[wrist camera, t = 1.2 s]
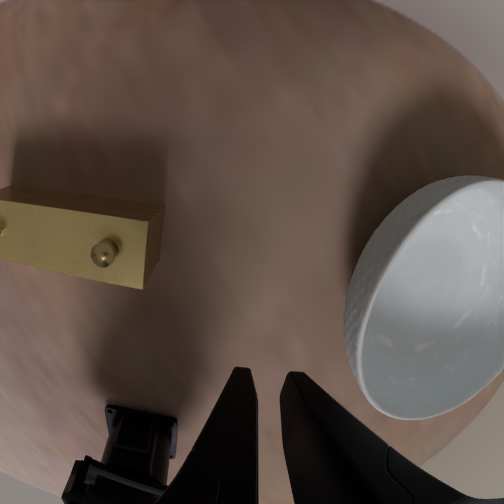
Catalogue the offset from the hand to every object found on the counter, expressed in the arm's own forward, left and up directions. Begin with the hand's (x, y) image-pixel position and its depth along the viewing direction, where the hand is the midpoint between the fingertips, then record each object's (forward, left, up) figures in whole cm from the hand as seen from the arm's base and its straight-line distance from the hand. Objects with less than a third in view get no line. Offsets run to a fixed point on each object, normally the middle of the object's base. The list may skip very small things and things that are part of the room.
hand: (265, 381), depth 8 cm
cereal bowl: (0, -14, -12) cm, 19 cm away
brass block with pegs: (0, +11, -12) cm, 17 cm away
